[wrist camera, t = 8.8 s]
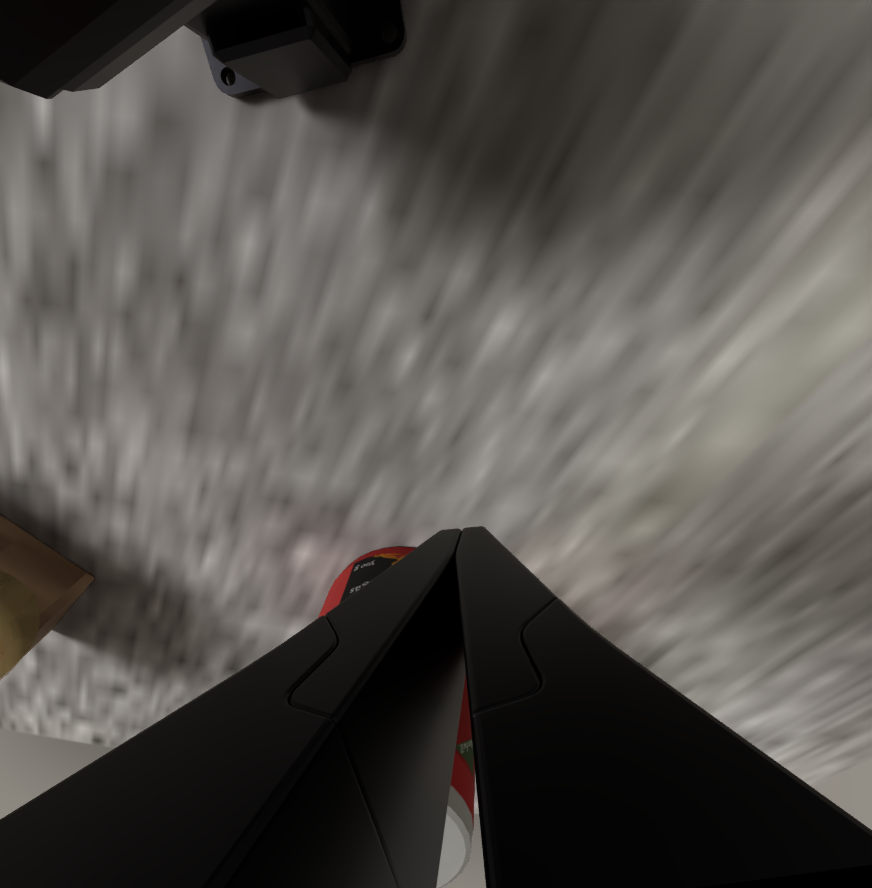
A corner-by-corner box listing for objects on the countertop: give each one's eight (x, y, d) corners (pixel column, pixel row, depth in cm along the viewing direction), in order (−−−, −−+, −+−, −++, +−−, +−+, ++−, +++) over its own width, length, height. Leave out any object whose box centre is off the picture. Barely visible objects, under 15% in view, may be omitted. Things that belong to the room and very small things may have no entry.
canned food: (503, 580, 24) (519, 827, 14) (432, 673, 28) (405, 927, 18) (367, 516, 23) (283, 734, 13) (310, 620, 27) (209, 858, 17)
